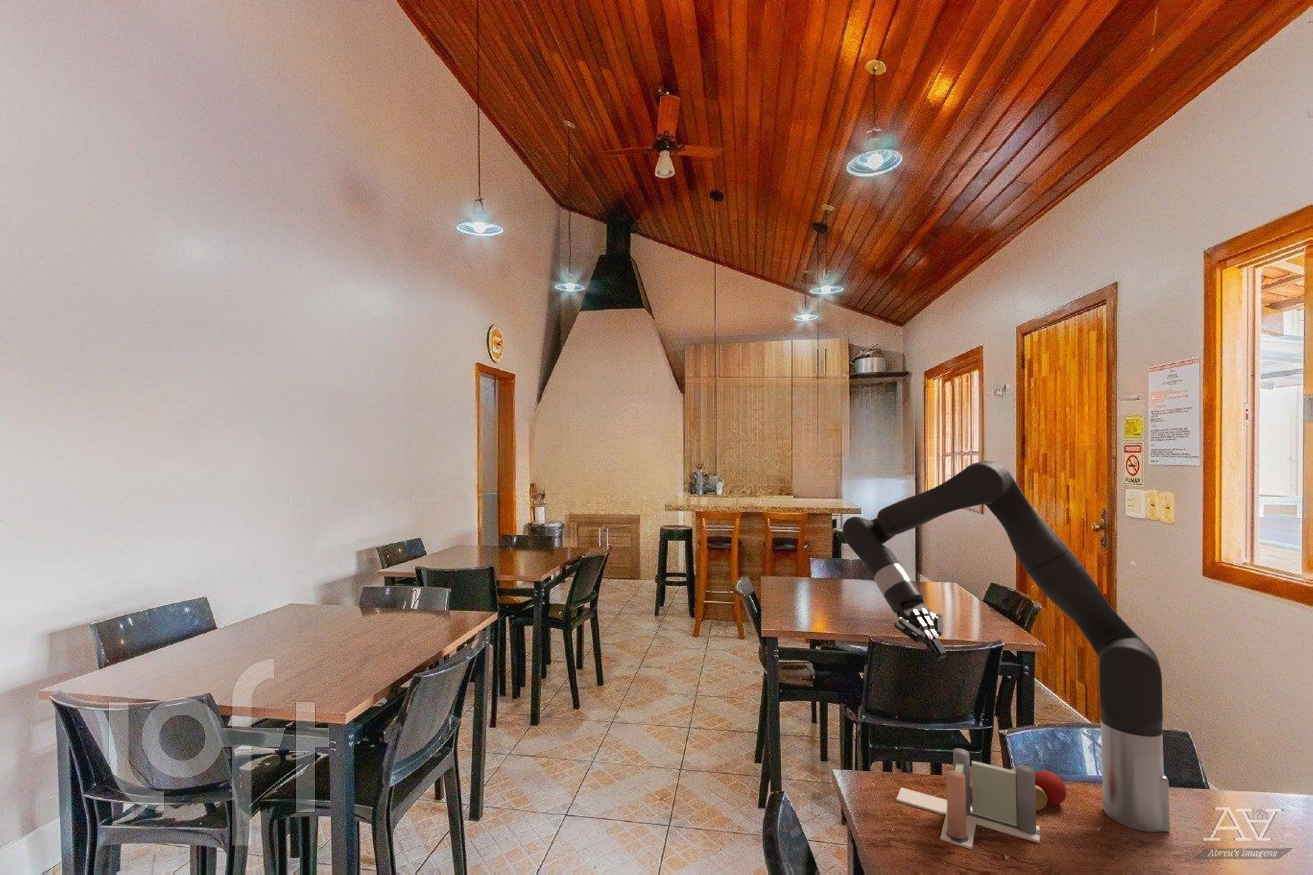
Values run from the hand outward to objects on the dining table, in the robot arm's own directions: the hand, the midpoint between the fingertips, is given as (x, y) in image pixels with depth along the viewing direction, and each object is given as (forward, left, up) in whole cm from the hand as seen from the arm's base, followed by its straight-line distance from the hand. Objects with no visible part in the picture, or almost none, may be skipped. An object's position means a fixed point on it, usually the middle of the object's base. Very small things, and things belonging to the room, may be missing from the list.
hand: (942, 657), depth 126 cm
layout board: (-2, +16, -26) cm, 30 cm away
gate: (-1, +18, -25) cm, 31 cm away
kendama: (-13, +2, -26) cm, 29 cm away
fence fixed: (-8, +12, -25) cm, 29 cm away
